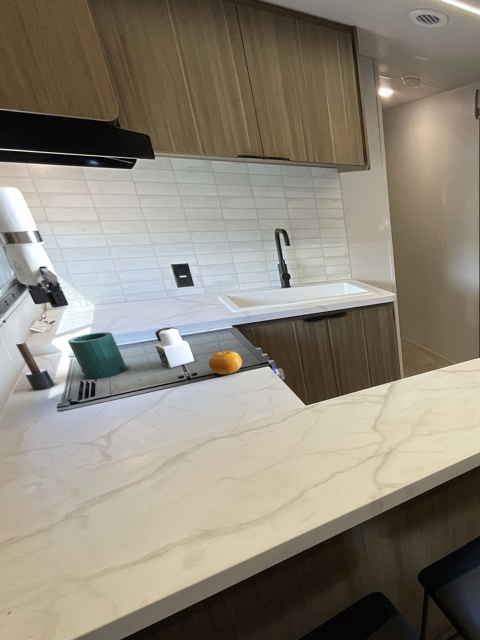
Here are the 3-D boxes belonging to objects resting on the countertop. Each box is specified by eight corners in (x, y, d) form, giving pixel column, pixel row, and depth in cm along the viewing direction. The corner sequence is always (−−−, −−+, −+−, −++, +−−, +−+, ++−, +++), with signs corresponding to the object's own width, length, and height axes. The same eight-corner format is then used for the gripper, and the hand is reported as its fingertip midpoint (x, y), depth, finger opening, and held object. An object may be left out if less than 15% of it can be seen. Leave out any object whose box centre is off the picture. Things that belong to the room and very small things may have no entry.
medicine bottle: (162, 363, 136) (148, 330, 131) (186, 357, 142) (174, 324, 137) (170, 368, 132) (156, 333, 128) (194, 361, 138) (182, 328, 133)
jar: (76, 378, 126) (58, 342, 121) (106, 366, 135) (90, 332, 130) (106, 378, 126) (90, 342, 121) (134, 366, 135) (120, 332, 130)
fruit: (251, 358, 130) (229, 340, 126) (232, 376, 124) (209, 359, 120) (240, 365, 135) (218, 348, 131) (222, 383, 129) (199, 366, 125)
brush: (28, 390, 119) (4, 345, 113) (44, 383, 123) (21, 340, 117) (42, 390, 119) (18, 345, 113) (58, 383, 123) (35, 340, 117)
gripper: (-16, 239, 103) (18, 305, 110) (15, 241, 96) (48, 311, 103) (25, 236, 109) (54, 299, 116) (56, 238, 102) (85, 304, 109)
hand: (51, 304), depth 110 cm, fingers open, 9 cm apart
